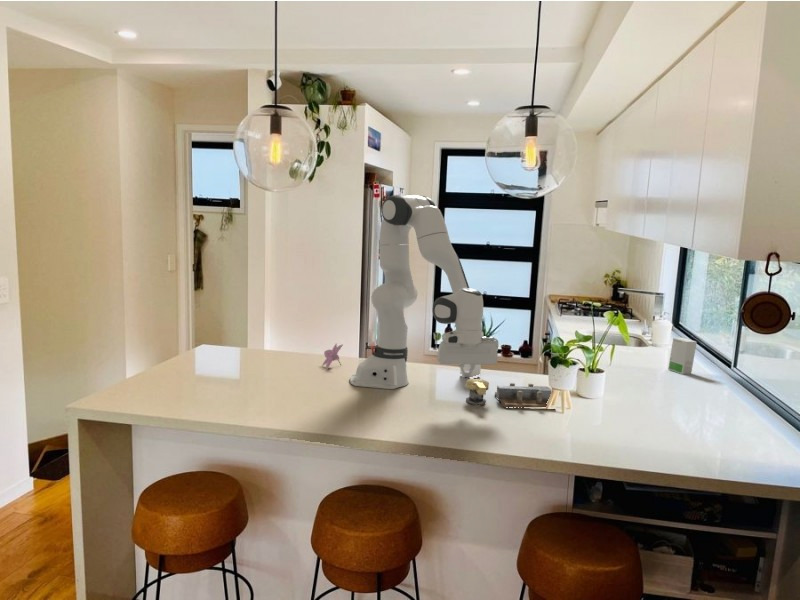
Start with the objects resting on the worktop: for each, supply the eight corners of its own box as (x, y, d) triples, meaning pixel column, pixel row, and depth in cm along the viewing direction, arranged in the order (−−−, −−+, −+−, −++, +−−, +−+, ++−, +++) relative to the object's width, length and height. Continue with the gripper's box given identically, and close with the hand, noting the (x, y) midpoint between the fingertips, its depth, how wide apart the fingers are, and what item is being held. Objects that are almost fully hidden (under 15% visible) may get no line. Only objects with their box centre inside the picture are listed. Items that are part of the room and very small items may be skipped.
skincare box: (667, 369, 268) (671, 337, 266) (677, 369, 271) (681, 337, 269) (682, 374, 261) (687, 341, 259) (692, 373, 264) (697, 340, 262)
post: (468, 405, 197) (469, 391, 197) (464, 398, 204) (465, 385, 204) (487, 405, 198) (489, 391, 197) (483, 399, 205) (484, 385, 204)
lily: (325, 364, 245) (316, 346, 240) (350, 355, 244) (342, 337, 240) (325, 379, 234) (316, 361, 230) (351, 370, 234) (343, 352, 229)
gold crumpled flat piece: (463, 383, 204) (464, 377, 204) (485, 384, 205) (485, 378, 204) (470, 394, 192) (471, 387, 192) (493, 394, 193) (494, 388, 193)
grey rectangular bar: (499, 400, 200) (500, 389, 200) (495, 395, 205) (496, 384, 205) (551, 401, 202) (552, 390, 202) (546, 397, 207) (547, 386, 206)
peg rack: (505, 408, 196) (506, 393, 195) (494, 395, 210) (496, 381, 209) (555, 409, 198) (557, 394, 197) (542, 397, 212) (543, 383, 211)
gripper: (496, 335, 195) (494, 374, 197) (437, 334, 193) (435, 374, 195) (501, 339, 189) (498, 379, 191) (440, 338, 187) (438, 378, 189)
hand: (466, 376), depth 193 cm, fingers closed
